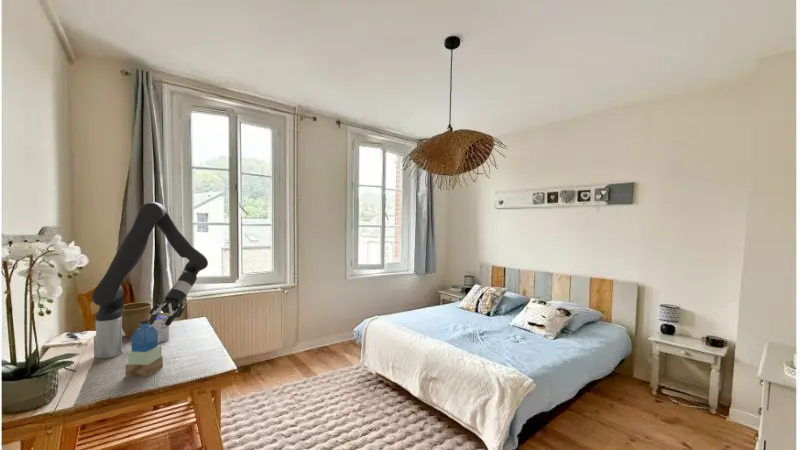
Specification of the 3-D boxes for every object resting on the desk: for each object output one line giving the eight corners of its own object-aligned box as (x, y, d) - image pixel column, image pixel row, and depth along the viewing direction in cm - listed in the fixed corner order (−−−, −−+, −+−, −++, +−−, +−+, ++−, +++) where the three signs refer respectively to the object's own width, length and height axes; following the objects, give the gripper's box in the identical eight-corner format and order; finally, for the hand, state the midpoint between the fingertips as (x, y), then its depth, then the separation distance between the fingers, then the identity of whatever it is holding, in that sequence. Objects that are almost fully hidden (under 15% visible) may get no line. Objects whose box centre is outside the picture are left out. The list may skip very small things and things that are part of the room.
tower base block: (125, 377, 140) (125, 365, 140) (141, 367, 149) (141, 355, 149) (148, 377, 140) (148, 365, 140) (162, 367, 149) (162, 355, 149)
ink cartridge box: (164, 337, 183) (164, 310, 183) (169, 340, 180) (169, 312, 180) (143, 343, 175) (142, 315, 174) (148, 346, 172) (147, 317, 172)
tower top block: (128, 364, 140) (128, 352, 140) (143, 356, 148) (142, 344, 148) (147, 364, 140) (147, 352, 140) (161, 356, 148) (161, 345, 148)
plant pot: (115, 334, 187) (115, 305, 186) (149, 328, 197) (149, 301, 197) (118, 342, 176) (117, 311, 176) (153, 335, 186) (153, 306, 186)
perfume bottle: (145, 351, 141) (144, 322, 140) (131, 351, 141) (131, 322, 141) (157, 346, 147) (157, 318, 146) (144, 345, 148) (144, 317, 147)
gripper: (160, 287, 160) (138, 319, 149) (187, 288, 158) (166, 321, 147) (170, 296, 166) (149, 327, 155) (196, 297, 163) (177, 329, 152)
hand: (158, 324), depth 151 cm, fingers open, 8 cm apart
